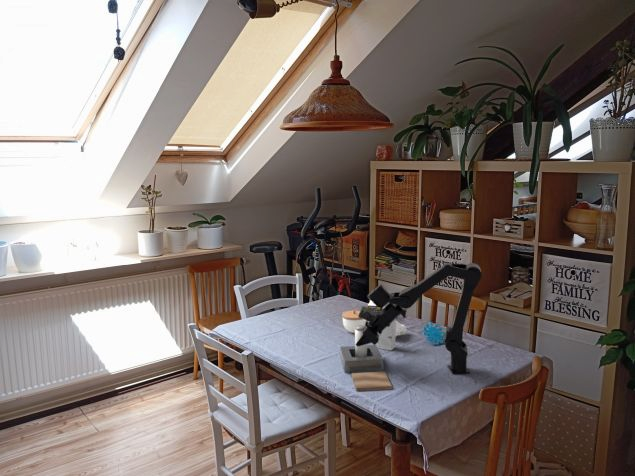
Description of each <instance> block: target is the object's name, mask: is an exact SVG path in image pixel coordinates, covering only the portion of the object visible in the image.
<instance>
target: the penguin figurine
mask: <svg viewBox="0 0 635 476" xmlns="http://www.w3.org/2000/svg"><path fill="white" fill-rule="evenodd" d="M406 332H407V326H406V325H404V324H401V323H400V322H398V320H396V334H395V338H396V337H397V336H399V335H400V336H405V334H406Z"/></svg>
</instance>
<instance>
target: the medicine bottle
mask: <svg viewBox="0 0 635 476" xmlns="http://www.w3.org/2000/svg"><path fill="white" fill-rule="evenodd" d="M385 307H386V305H385V306H384V307H381V308H380V307H377V306H376V305H375V304H374V303H373V302H372V301H371V300H370V299H369V303H368V304H367V308H368V309H371V310H373V311H374V312H376V313H377V312H378V311H381V310H382V309H384V308H385Z"/></svg>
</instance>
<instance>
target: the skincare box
mask: <svg viewBox="0 0 635 476" xmlns="http://www.w3.org/2000/svg"><path fill="white" fill-rule="evenodd" d="M396 321H397V318H396V319H395V320H394V321H393V322H392V323H391V324H390V326H389V327H386V328H385V329H384V330H383V331H382V333H381V334H379V333H378V332H377V333H378V334H379V341H378V343H377V348H378V349H382V350H386V351H393V350H394V349H395V347H396V337H395V334H396Z"/></svg>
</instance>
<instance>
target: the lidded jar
mask: <svg viewBox="0 0 635 476" xmlns="http://www.w3.org/2000/svg"><path fill="white" fill-rule="evenodd" d="M359 313H360V310H356V309H354V310H346V311H344V312H342V315H341V316H342V324H343V327H344V328H345V330H346V331H347V332H348V333H351V334H355V326H357V325H364V326H365V323H366V321H367V320H365V319H363V318H359V317H358V315H359Z"/></svg>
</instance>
